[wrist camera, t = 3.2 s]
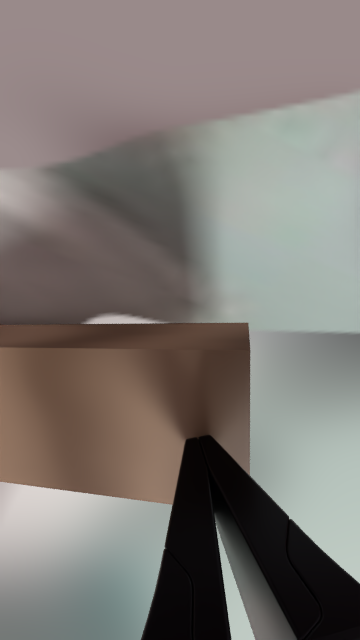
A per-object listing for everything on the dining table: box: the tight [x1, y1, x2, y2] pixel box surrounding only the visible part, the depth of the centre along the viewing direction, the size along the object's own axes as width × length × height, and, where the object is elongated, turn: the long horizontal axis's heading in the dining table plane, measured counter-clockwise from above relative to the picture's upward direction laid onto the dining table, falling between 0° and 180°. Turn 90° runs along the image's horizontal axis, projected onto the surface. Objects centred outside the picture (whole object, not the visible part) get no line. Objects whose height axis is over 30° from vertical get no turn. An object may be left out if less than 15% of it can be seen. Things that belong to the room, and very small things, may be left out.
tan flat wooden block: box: [0, 323, 250, 505], centre depth 11 cm, size 12×7×2 cm, turn 96°
